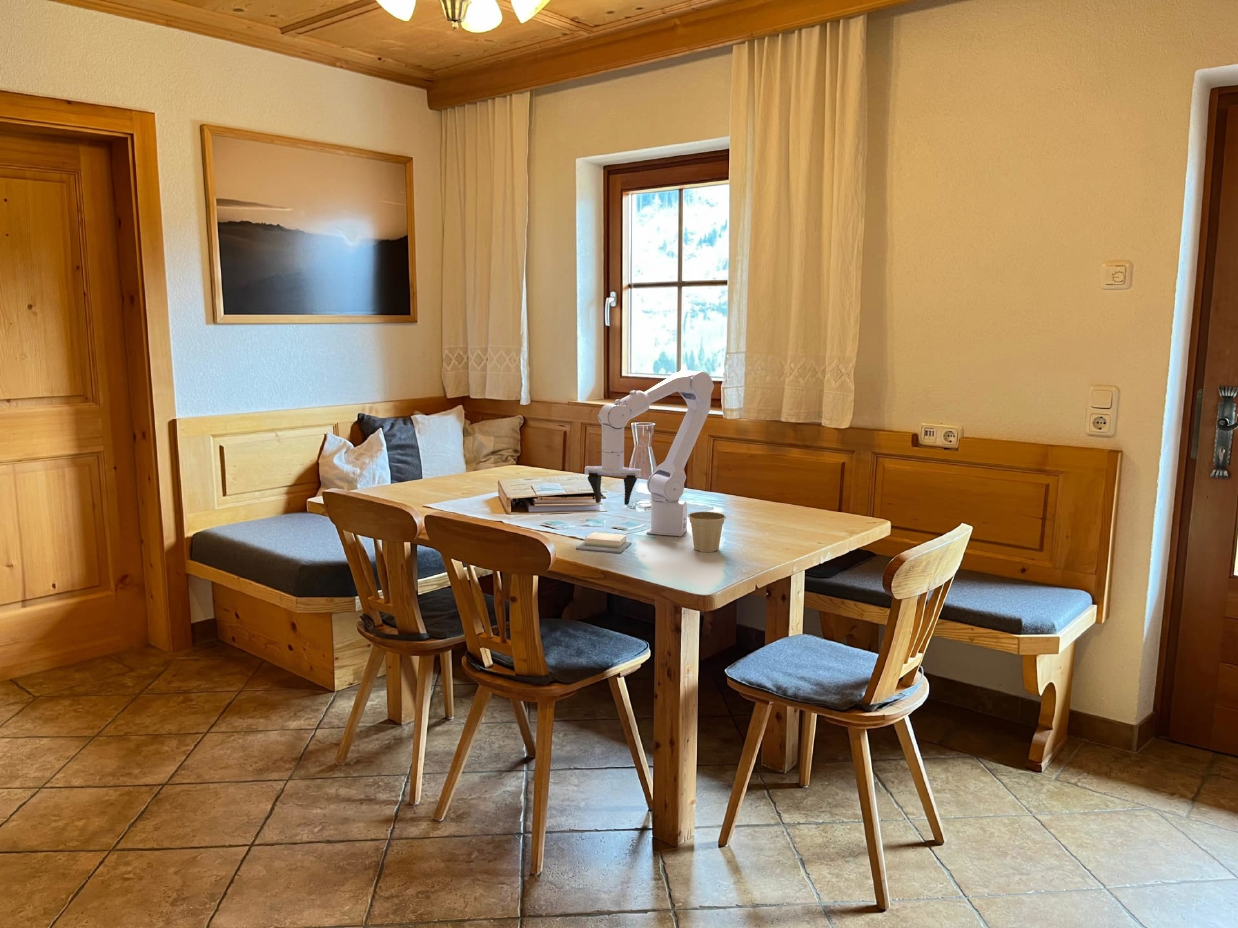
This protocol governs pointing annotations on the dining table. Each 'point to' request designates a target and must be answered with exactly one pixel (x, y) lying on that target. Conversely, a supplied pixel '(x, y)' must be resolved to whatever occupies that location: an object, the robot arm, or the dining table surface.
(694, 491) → the dining table surface
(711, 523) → the flower pot
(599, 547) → the mat
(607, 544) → the tile
